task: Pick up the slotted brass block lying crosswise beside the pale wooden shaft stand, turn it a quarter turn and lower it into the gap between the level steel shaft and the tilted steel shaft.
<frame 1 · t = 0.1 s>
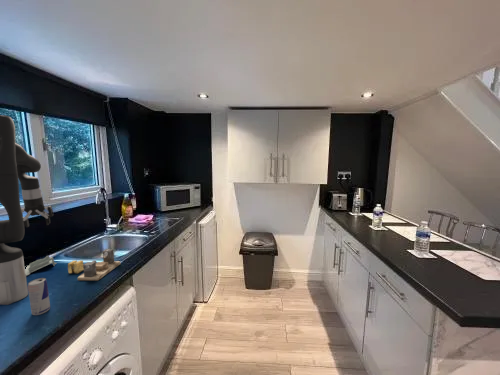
hand: (38, 225, 129), 22 cm above the worktop, tool pointing down, fingers open, 8 cm apart
metal bracket: (39, 269, 127), on the worktop
energy drink: (41, 311, 90), on the worktop
coupling base: (100, 271, 122), on the worktop
slotted brass block: (76, 271, 123), on the worktop
shafts: (99, 257, 121), point 7 cm above the worktop
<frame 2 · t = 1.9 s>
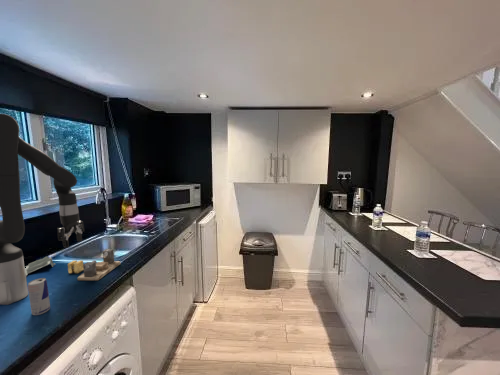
hand: (73, 244, 121), 14 cm above the worktop, tool pointing down, fingers open, 8 cm apart
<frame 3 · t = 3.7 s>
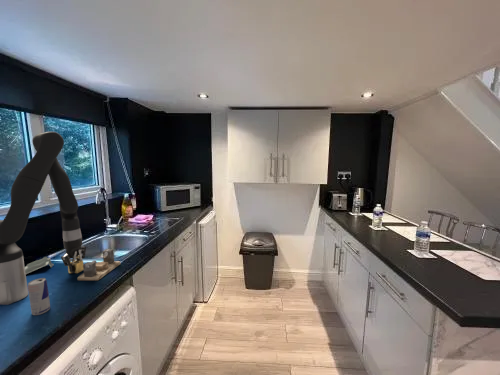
hand: (76, 269, 123), 1 cm above the worktop, tool pointing down, fingers closed on slotted brass block, 4 cm apart
slotted brass block: (76, 271, 123), on the worktop, touching gripper
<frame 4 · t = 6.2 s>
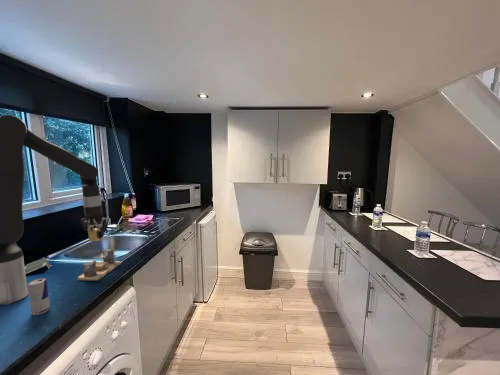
hand: (96, 237, 121), 18 cm above the worktop, tool pointing down, fingers closed on slotted brass block, 4 cm apart
slotted brass block: (96, 239, 121), point 17 cm above the worktop, touching gripper
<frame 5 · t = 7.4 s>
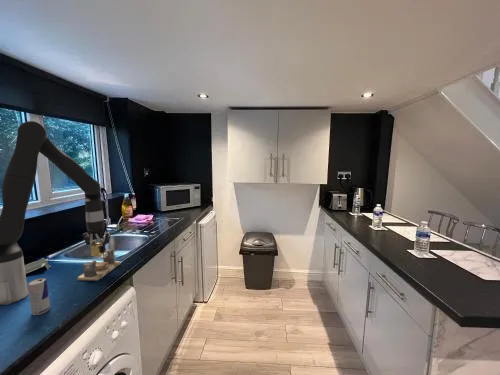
hand: (98, 252, 121), 10 cm above the worktop, tool pointing down, fingers closed on slotted brass block, 4 cm apart
slotted brass block: (98, 253, 121), point 9 cm above the worktop, touching gripper
when the fingers open (6 cm above the worktop, at t = 8.7 s): slotted brass block drops 1 cm, resting on coupling base.
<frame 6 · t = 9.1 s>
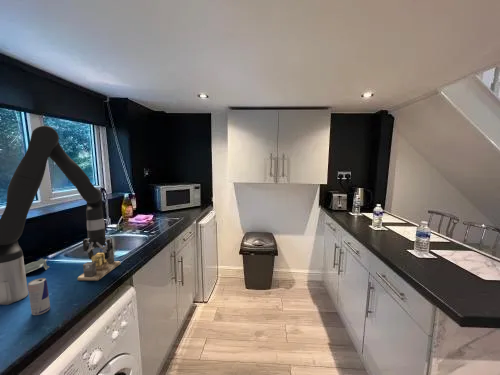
hand: (99, 258, 121), 7 cm above the worktop, tool pointing down, fingers open, 7 cm apart
slotted brass block: (99, 264, 122), point 4 cm above the worktop, touching coupling base
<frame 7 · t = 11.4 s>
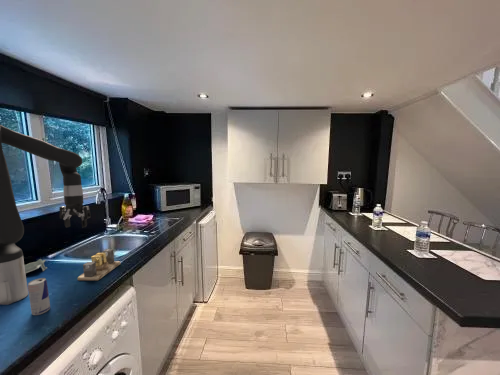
hand: (76, 227, 118), 24 cm above the worktop, tool pointing down, fingers open, 8 cm apart
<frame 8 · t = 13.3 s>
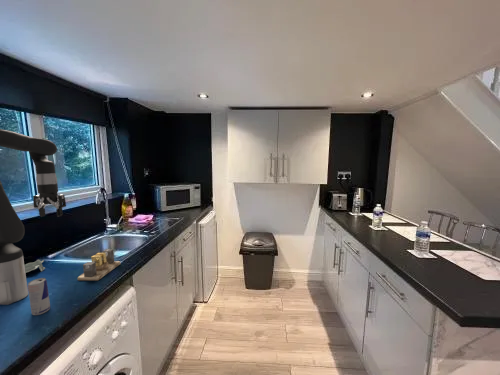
hand: (51, 216, 116), 30 cm above the worktop, tool pointing down, fingers open, 8 cm apart
at the end: slotted brass block 0.2 cm off-centre on the coupling base, point 4.0 cm above the coupling base's base; slotted brass block tilted 0°; the gripper is holding nothing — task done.
